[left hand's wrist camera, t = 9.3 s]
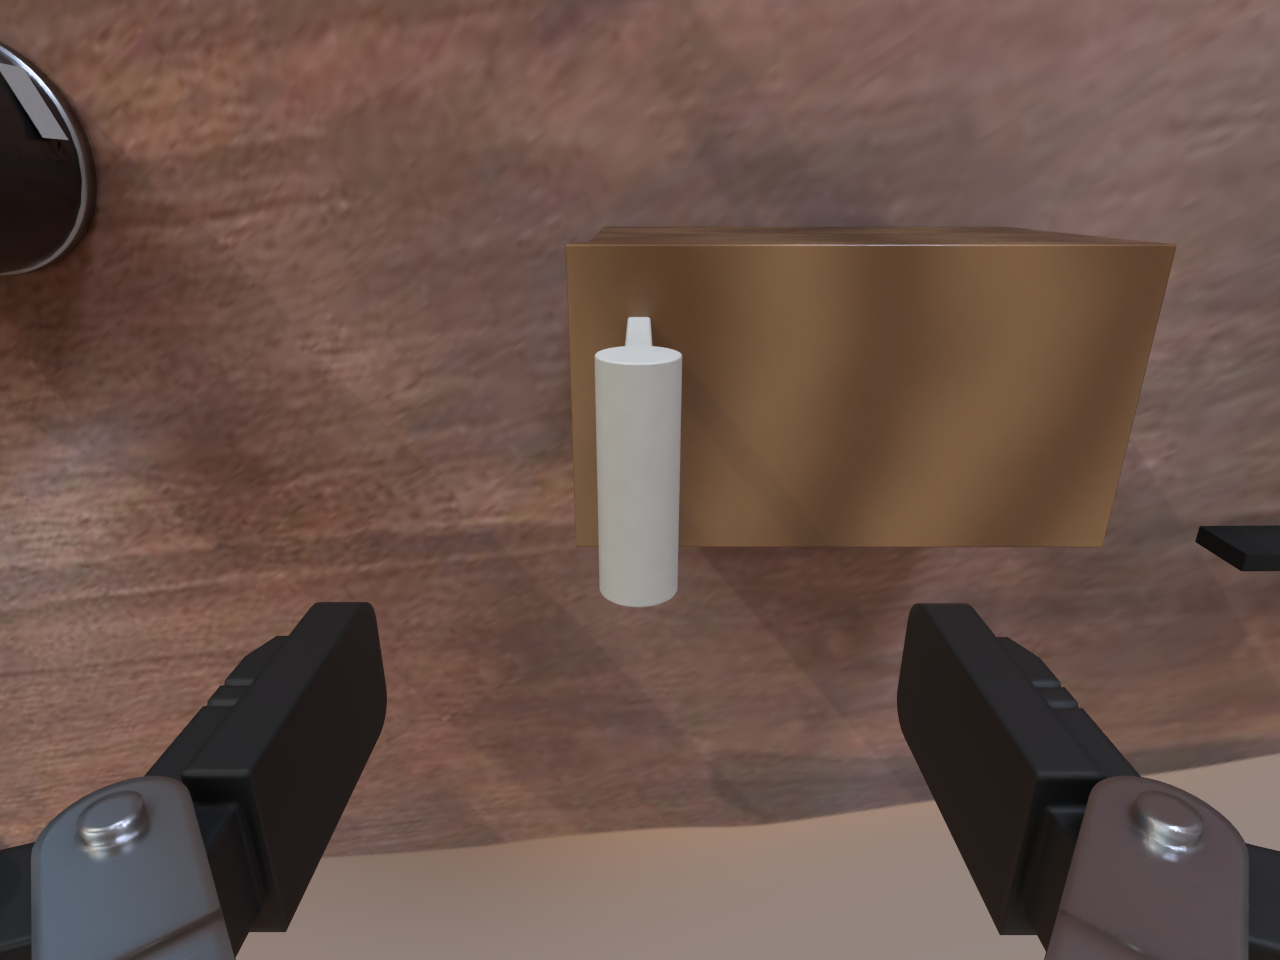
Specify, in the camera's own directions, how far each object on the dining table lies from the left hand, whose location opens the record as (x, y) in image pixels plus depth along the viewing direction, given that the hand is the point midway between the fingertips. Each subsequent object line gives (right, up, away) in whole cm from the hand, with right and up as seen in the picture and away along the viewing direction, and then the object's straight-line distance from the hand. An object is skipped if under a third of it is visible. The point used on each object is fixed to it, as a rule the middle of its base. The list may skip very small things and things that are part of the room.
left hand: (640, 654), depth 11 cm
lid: (+7, +5, +14) cm, 16 cm away
